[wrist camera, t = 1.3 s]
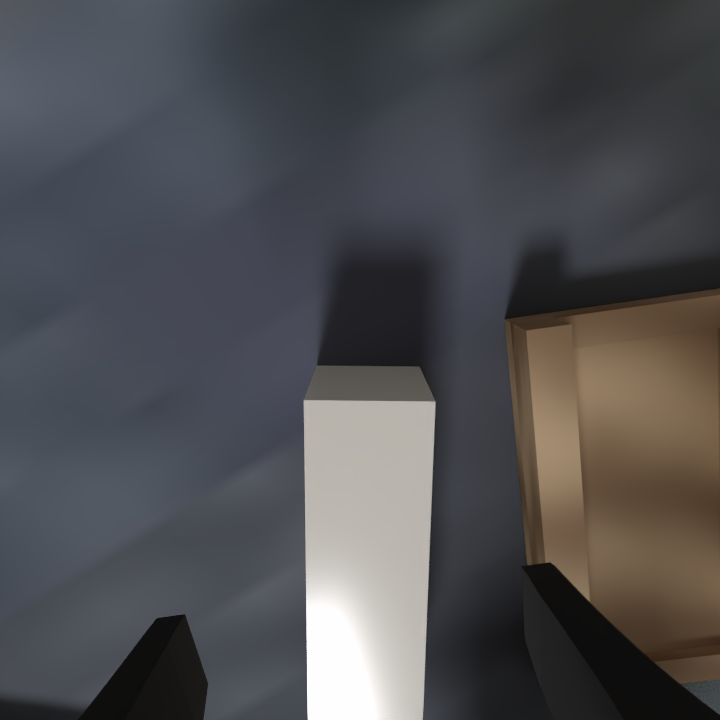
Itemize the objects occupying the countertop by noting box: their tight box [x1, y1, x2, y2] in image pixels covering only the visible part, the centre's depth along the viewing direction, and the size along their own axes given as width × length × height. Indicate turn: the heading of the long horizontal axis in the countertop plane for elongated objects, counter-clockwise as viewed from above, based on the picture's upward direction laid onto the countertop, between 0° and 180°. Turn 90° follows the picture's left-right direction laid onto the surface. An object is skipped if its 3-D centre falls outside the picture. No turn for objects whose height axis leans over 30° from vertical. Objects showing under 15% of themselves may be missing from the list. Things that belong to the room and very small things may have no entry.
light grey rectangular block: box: [304, 366, 435, 720], centre depth 20 cm, size 14×4×5 cm, turn 179°
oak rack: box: [505, 288, 720, 684], centre depth 21 cm, size 16×9×3 cm, turn 8°
